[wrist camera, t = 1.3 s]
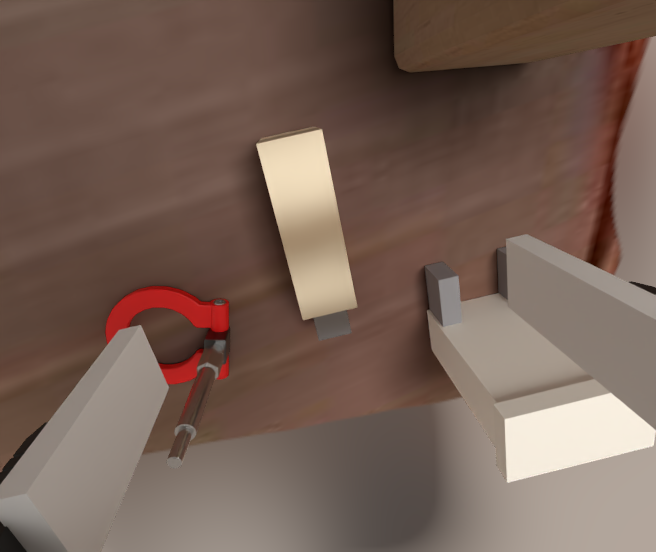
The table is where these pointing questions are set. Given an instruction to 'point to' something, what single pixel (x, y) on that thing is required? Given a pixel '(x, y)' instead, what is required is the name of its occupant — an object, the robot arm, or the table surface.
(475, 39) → the block
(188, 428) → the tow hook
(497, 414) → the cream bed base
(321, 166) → the rail
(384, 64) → the table surface
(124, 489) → the robot arm
